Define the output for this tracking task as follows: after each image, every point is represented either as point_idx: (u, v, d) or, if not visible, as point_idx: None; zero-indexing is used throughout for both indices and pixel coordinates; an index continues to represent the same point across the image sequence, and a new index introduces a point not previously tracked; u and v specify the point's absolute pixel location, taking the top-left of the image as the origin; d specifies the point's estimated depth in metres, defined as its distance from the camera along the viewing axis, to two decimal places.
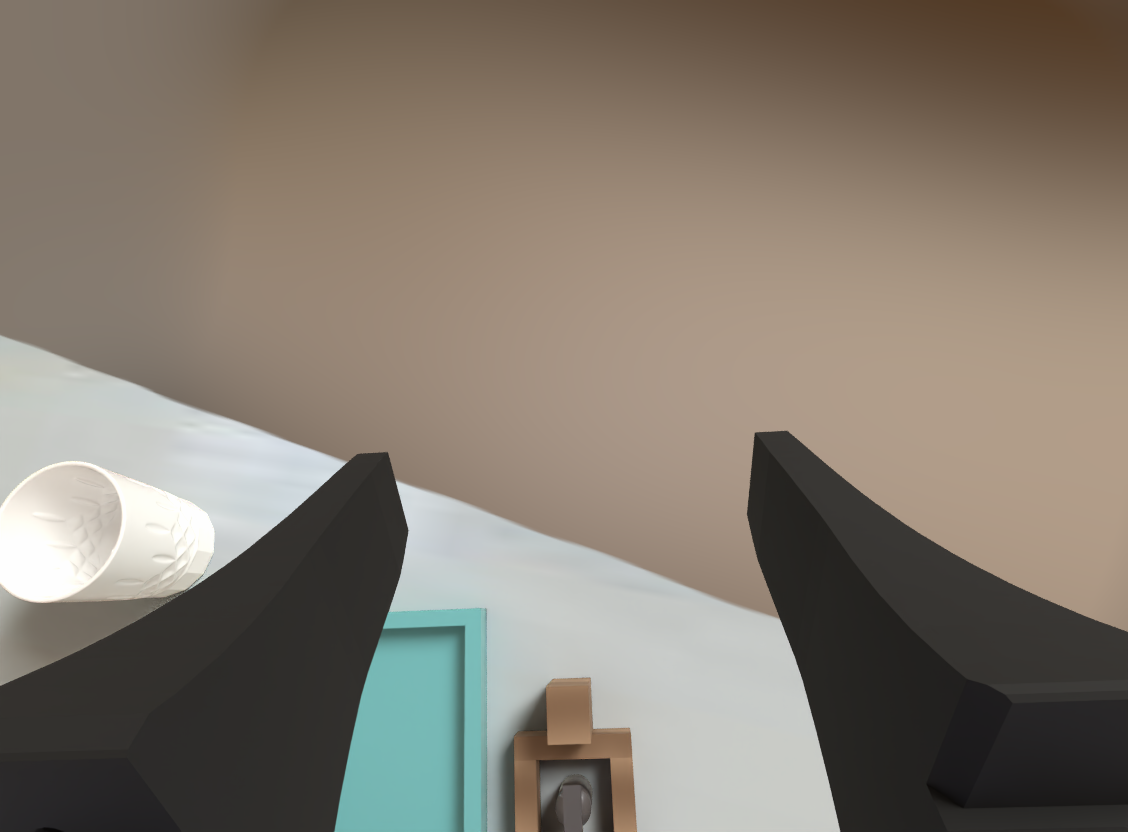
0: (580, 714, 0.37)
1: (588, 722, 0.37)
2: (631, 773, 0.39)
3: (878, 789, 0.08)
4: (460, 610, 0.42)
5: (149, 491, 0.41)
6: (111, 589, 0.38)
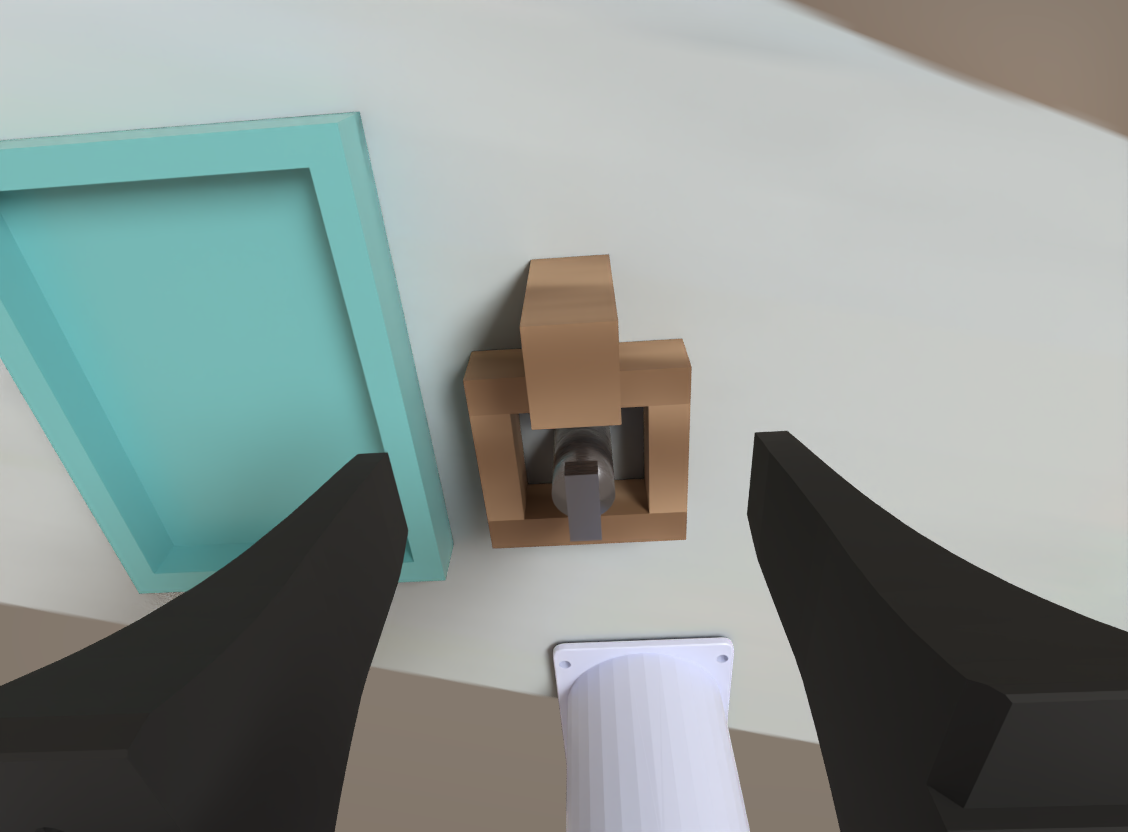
0: (600, 376, 0.17)
1: (617, 390, 0.17)
2: (686, 426, 0.21)
3: (877, 789, 0.08)
4: (287, 130, 0.17)
5: None
6: None
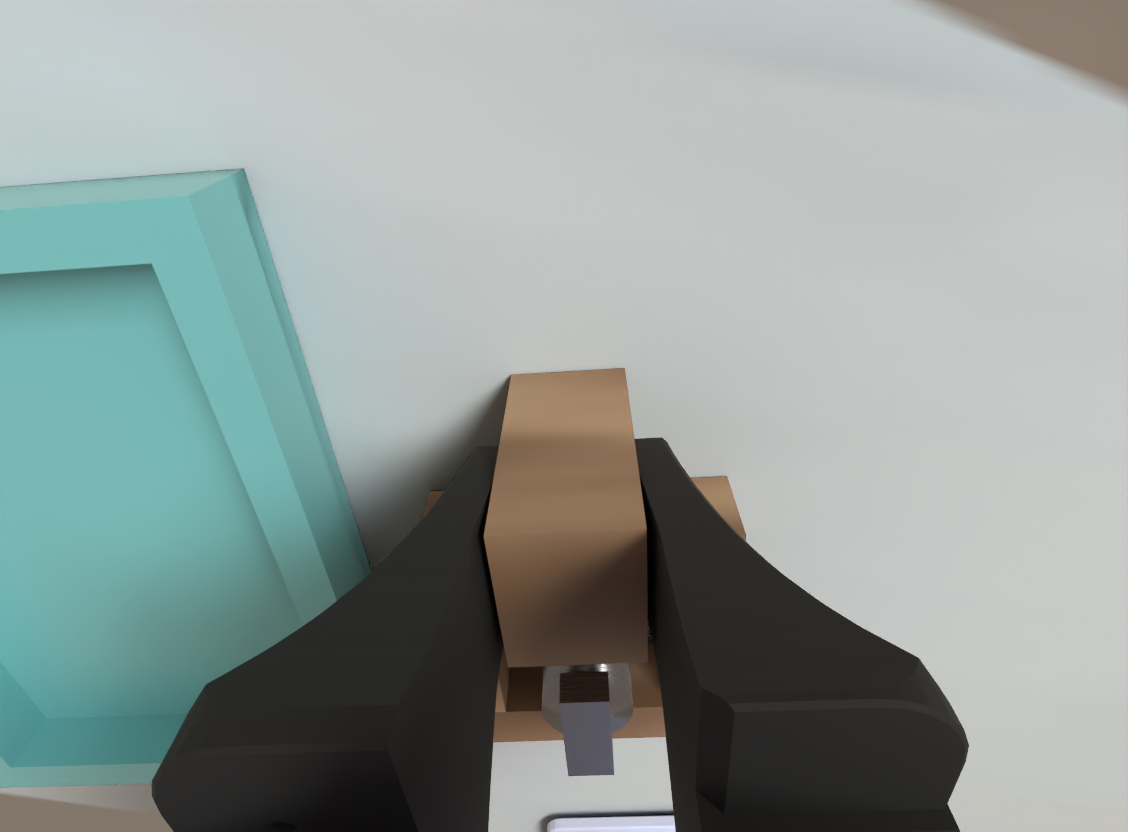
0: (615, 602, 0.10)
1: (642, 619, 0.11)
2: None
3: (683, 794, 0.08)
4: (108, 207, 0.10)
5: None
6: None
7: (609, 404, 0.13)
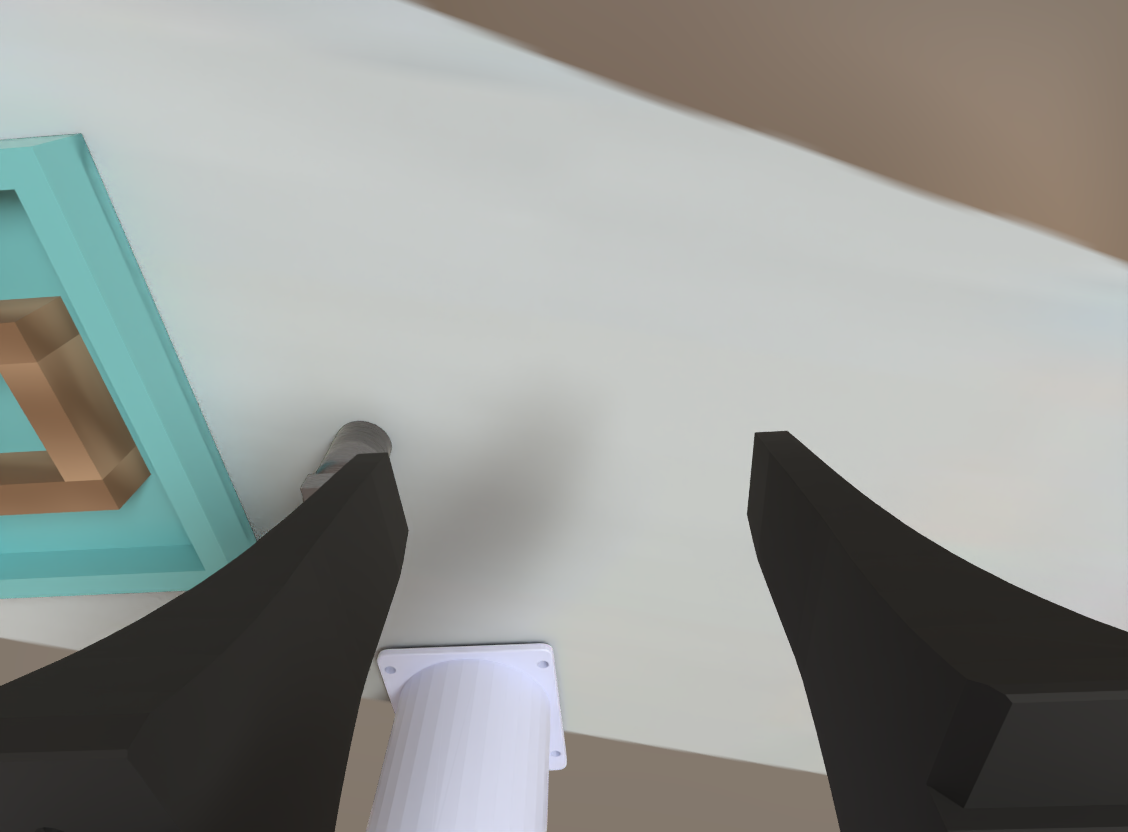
0: None
1: None
2: (47, 387, 0.20)
3: (877, 788, 0.08)
4: None
5: None
6: None
7: None
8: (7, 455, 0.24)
